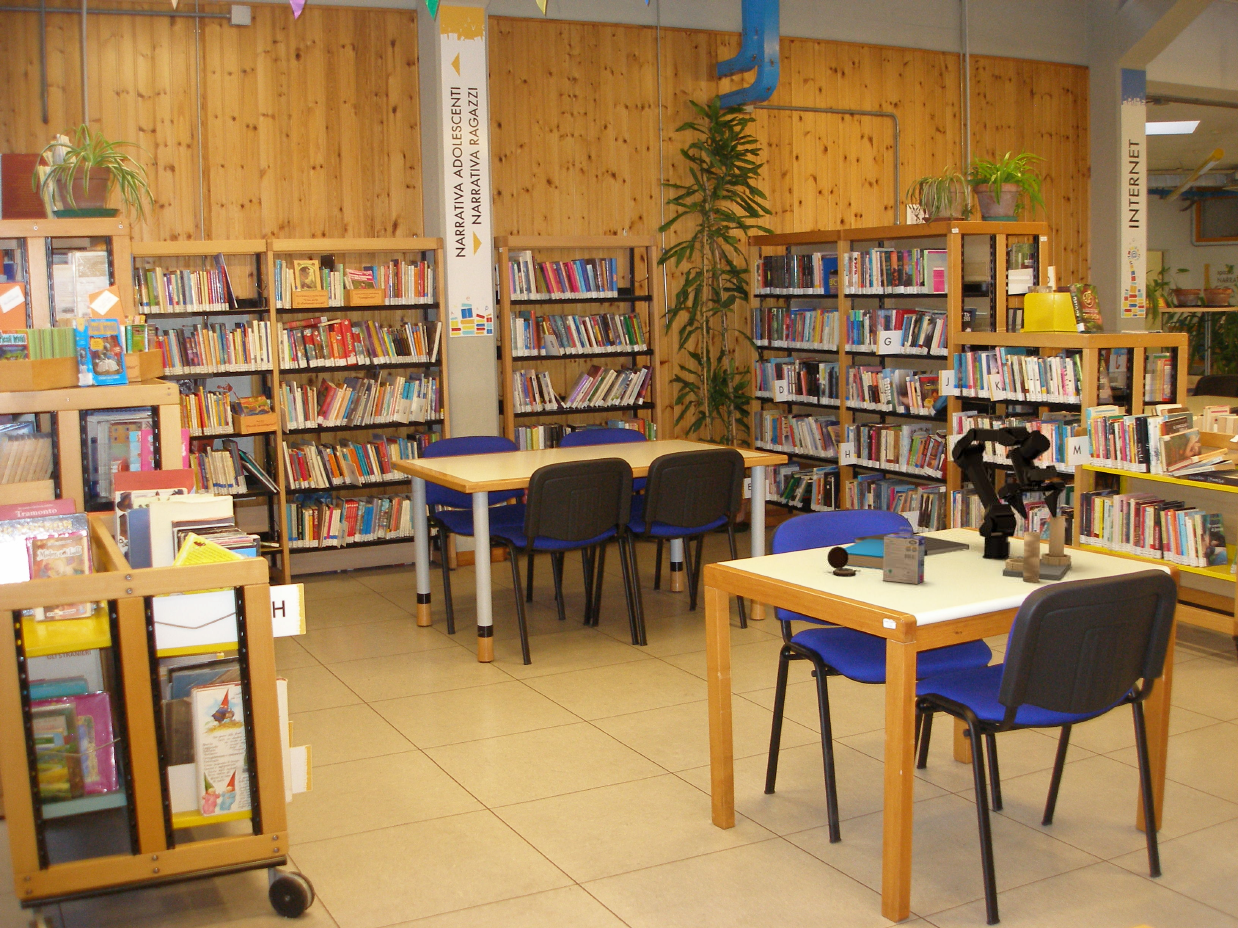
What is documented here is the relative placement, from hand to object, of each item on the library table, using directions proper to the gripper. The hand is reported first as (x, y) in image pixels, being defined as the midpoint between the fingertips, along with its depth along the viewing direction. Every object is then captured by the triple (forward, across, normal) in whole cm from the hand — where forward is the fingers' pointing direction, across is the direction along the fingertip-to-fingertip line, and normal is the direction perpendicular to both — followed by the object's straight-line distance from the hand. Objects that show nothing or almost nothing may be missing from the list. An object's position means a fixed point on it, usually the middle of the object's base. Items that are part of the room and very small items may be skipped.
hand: (1040, 518), depth 325 cm
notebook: (-10, -14, +46) cm, 50 cm away
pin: (+18, -11, -2) cm, 21 cm away
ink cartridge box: (+13, -42, +7) cm, 45 cm away
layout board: (+13, -1, +7) cm, 15 cm away
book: (-2, -35, +32) cm, 47 cm away
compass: (+6, -52, +19) cm, 56 cm away
